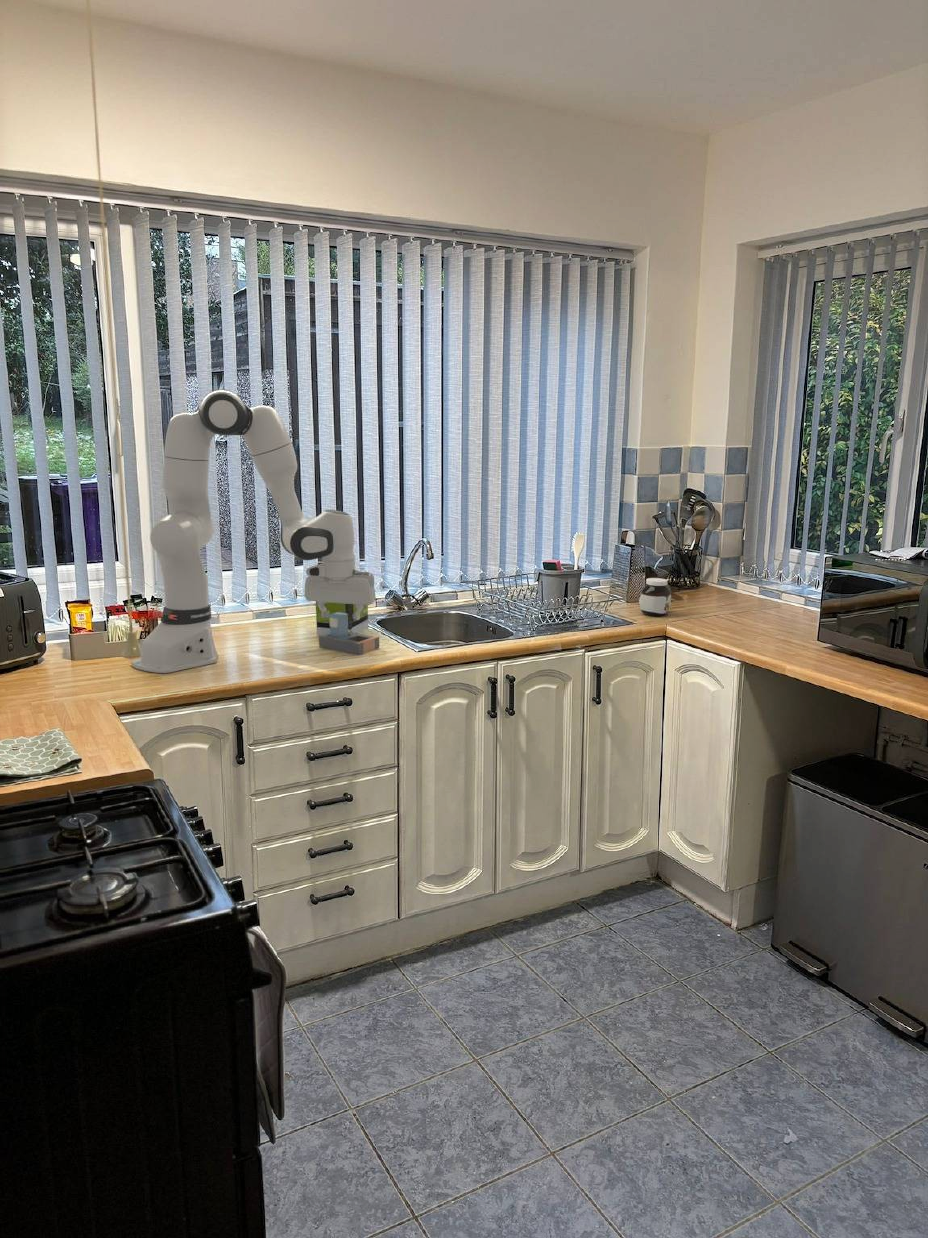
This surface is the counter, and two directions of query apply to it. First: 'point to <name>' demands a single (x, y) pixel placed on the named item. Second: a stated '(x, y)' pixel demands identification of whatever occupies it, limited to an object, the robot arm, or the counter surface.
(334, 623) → the plug peg
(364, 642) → the socket block
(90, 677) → the counter surface
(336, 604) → the tea box
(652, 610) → the spread jar
